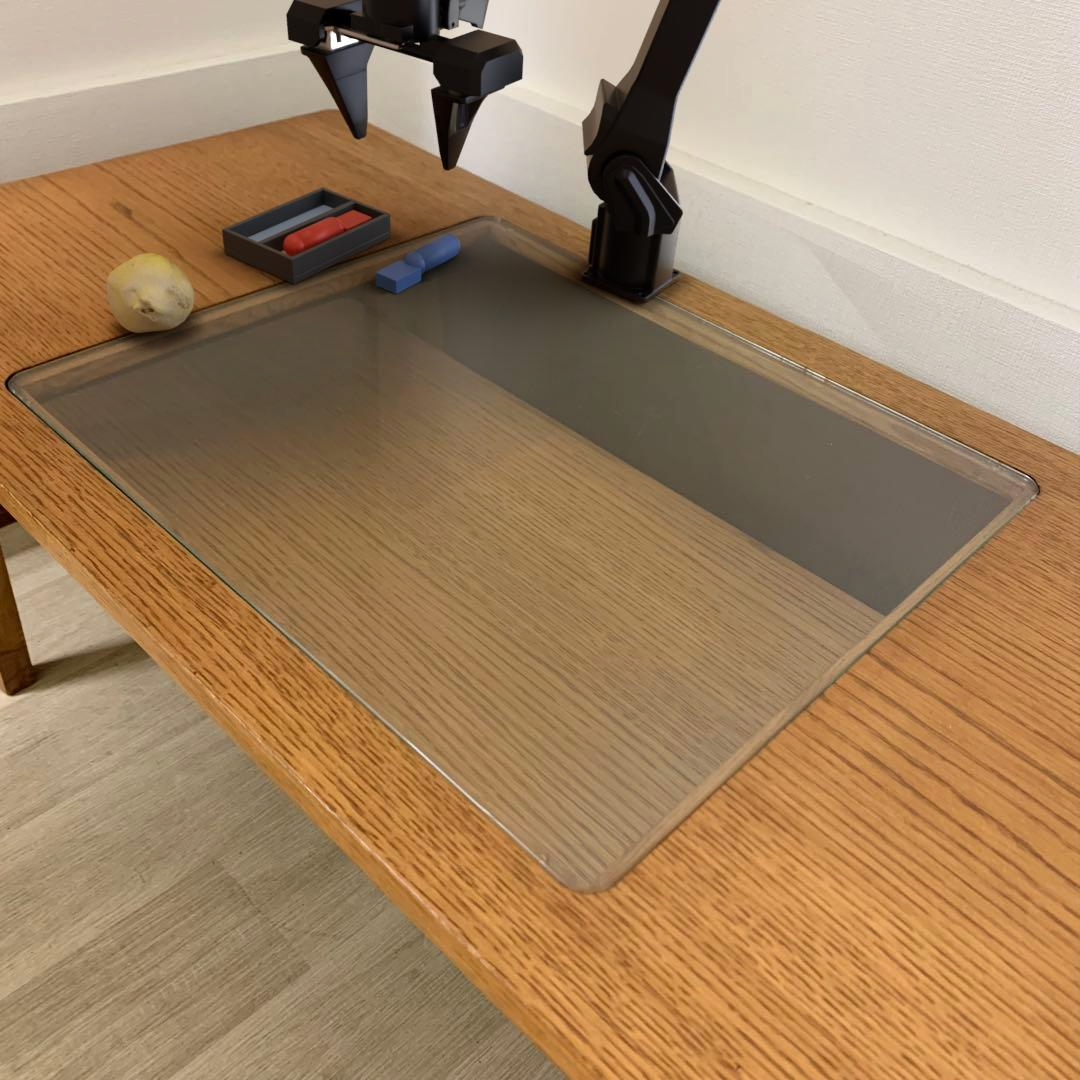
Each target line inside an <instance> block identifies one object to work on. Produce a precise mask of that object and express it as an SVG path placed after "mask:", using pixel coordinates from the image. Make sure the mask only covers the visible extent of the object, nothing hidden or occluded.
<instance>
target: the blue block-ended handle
mask: <svg viewBox="0 0 1080 1080" xmlns="http://www.w3.org/2000/svg"><path fill="white" fill-rule="evenodd" d="M460 250H461V242H460V240H459V238H458V237H457V236H456V235H454V234H452V233H445V234H443V235H441V236H439V237H437V238H435V239H433V240H431V241H429V242H427V243H425V244H423V245H421V246H419V247H417V248H415V249H413V250H411V251H409V252H408V253H407V254H405V257H404V258H403V259H399V260H396V261H394V262H393V263H391V264H389V265H387V266H385V267H382V268H381V269H379V270H377V271H375V286H376V287H379V288H381V289H383V290H385V291H388V292H390V293H392V294H395V295H397V294H399V293H401V292H402V291H405V290H407V289H408V288H410V287H412V286H414V285H415V284H418V283H419V282H421V281H422V274H424V273H426V272H428V271H430V270H432V269H434V268H436V267H438V266H440V265H441V264H444V263H446V262H447V261H449V260H452V258H454V257H456V256H457V255H458V254H459V252H460Z"/></svg>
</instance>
